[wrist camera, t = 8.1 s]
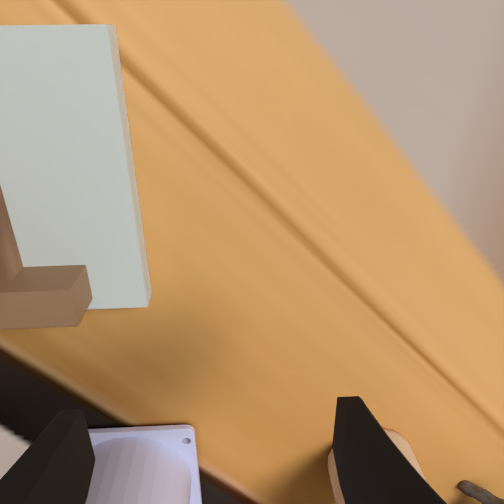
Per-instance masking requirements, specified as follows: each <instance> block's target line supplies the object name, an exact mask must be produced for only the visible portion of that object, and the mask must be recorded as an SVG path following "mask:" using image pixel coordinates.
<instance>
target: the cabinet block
mask: <svg viewBox="0 0 504 504" xmlns="http://www.w3.org/2000/svg"><path fill="white" fill-rule="evenodd" d="M22 268H23V264H22V260H21V257H20V253H19V249H18V246H17V242H16V239H15V235H14V232H13V228H12V225H11V221H10V218H9V214H8V211H7V207H6V204H5V200H4V196H3V193H2V189H1V186H0V292H1V291H2V290H3V289H4V288H5V287H6V286H7V285H8V283H9V282H10V281H11V280H12V279H13V278H14V277H15V276H16V275H17V273H18V272H19V271H20V270H21V269H22Z"/></svg>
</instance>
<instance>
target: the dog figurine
mask: <svg viewBox="0 0 504 504" xmlns="http://www.w3.org/2000/svg"><path fill="white" fill-rule="evenodd" d="M458 487H459V488H460V490H461V491H462V492H463V493H464V494H466V495H468V496H470V497H473V498H475V499H477V500H478V501H479V502H481V503H482V504H504V500H503V499H500V498H498V497H496V496H494V495H493V494H491V493H490V492H489V491H487V490H485V489H483V488H480V487H477V486H475V485H473V484H471V483H470V482H469V481H462V482H460V483H459V484H458Z"/></svg>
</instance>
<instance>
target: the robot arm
mask: <svg viewBox="0 0 504 504" xmlns="http://www.w3.org/2000/svg"><path fill="white" fill-rule="evenodd" d="M185 438H189V439H185ZM332 448H333V453H334V459H335V464H336V470H337V475H338V480H339V485H340V488H341V491H342V495H343V498H344V501H345V504H446V503H445V502H444V500H443V499H442V498H441V497H440V496H439V495H438V494H437V493H436V492H435V491H434V490H433V489H432V488H431V486H430V485H429V484H428V483H427V482H426V481H425V480H424V479H423V478H422V476H421V475H420V474H419V473H418V472H417V471H416V469H415V468H414V467H413V466H412V465H411V464H410V462H409V461H408V460H407V459H406V457H405V456H404V455H403V454H402V453H401V451H400V450H399V449H398V448H397V446H396V445H395V444H394V443H393V441H392V440H391V439H390V438H389V436H388V435H387V434H386V432H385V431H384V430H383V428H382V427H381V426H380V424H379V423H378V422H377V420H376V419H375V417H374V416H373V415H372V413H371V412H370V410H369V409H368V408H367V406H366V405H365V403H364V402H363V400H362V399H361V398H360V397H359V396H354V397H337V406H336V416H335V426H334V435H333V445H332ZM0 504H202V498H201V488H200V478H199V468H198V458H197V448H196V438H195V430H194V428H193V427H192V426H191V425H186V424H185V425H164V426H143V427H122V428H102V429H88V427H87V424H86V420H85V416H84V412H83V409H73V410H60V411H59V412H58V413H57V415H56V416H55V417H54V418H53V419H52V420H51V422H50V423H49V424H48V425H47V426H46V428H45V429H44V430H43V431H42V432H41V433H40V435H39V436H38V437H37V438H36V439H35V441H34V442H33V443H32V444H31V445H30V446H29V448H28V449H27V450H26V451H25V452H24V454H23V455H22V456H21V457H20V458H19V459H18V461H16V463H15V464H14V465H13V466H12V467H11V468H10V469H9V470H8V472H7V473H6V474H5V475H4V476H3V477H2V478H1V479H0Z"/></svg>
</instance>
